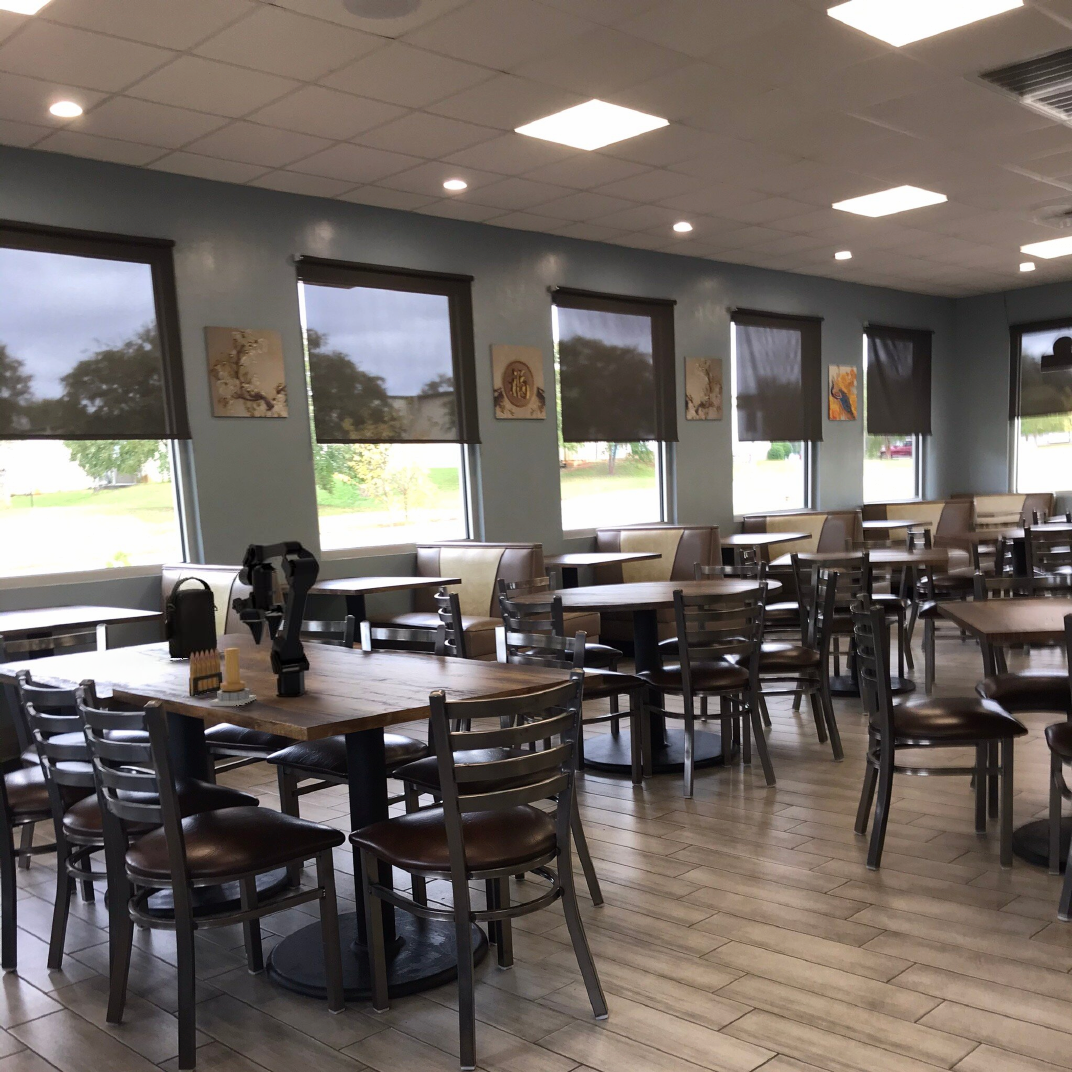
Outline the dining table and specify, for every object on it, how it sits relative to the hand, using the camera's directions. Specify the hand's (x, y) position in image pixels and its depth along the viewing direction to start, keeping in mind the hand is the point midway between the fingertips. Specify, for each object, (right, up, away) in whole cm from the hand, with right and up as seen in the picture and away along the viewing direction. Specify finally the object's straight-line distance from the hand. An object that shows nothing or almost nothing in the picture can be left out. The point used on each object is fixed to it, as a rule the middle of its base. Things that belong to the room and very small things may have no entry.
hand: (265, 642), depth 294 cm
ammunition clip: (-16, -14, -3) cm, 21 cm away
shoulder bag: (-44, -13, +72) cm, 85 cm away
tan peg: (-3, -13, -20) cm, 24 cm away
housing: (-3, -14, -20) cm, 25 cm away
